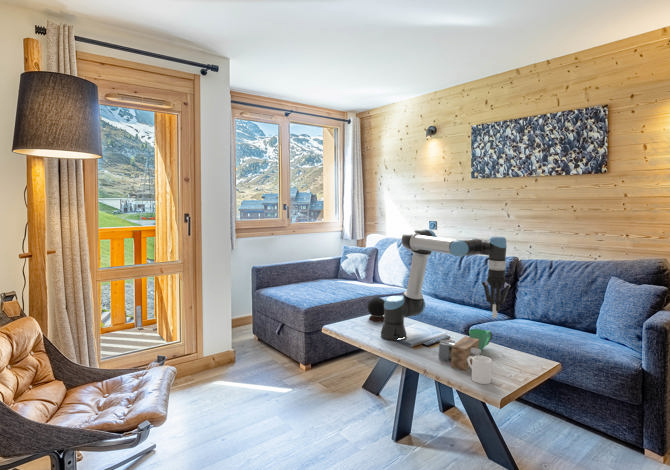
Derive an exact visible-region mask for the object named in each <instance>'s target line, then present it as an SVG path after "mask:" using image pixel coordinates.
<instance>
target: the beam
mask: <svg viewBox="0 0 670 470" xmlns="http://www.w3.org/2000/svg"><path fill="white" fill-rule="evenodd" d="M471 347H473V348H477V349H479V339H476V338H471V337H470V336H466V335H465V336H464V337H462V338H461V339H459V340H458V341H457V342H455V344H454V345H452V356H451V360H450V367H451V368H455V369H458V370H462V371H465V372H466V371H467V369H469V368H470V366H469V365H468V361H467V359H468V357H469V356H472V357H474V355H471ZM470 364H471V365H472V359H470Z"/></svg>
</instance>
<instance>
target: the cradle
mask: <svg viewBox="0 0 670 470" xmlns="http://www.w3.org/2000/svg"><path fill="white" fill-rule="evenodd" d="M443 341H448V342H452V343H456V341H455V340H450V339H444V340H443ZM451 356H452V350H450V345H448V344H444V343H440V342H439V344H438V360H441V361H444V362H451Z"/></svg>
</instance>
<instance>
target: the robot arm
mask: <svg viewBox="0 0 670 470" xmlns="http://www.w3.org/2000/svg"><path fill="white" fill-rule="evenodd" d="M401 244H402V247H403V248H404V249H406V250H408V251H410V252H412V259H411V264H410V270H409V276H408V281H407V287H406V290H405V291H404V292H403V295H402V296H401V295H391V296H388V297H386V298H385V299H384V301H385V303H384V315H383V316H384V321H383V325H382V328H381V330H380V337H381V338H382V339H384V340H388V341H393V342H395V341H397V339H398V338H403V337H406V338H407V331H406V327H405V322H404V321H405V318H409V317H416V316H419V315H421V314H423V312H425V308H426V301H425V298H424V296H423V293H422V290H423V285H424V284H423V283H424V280H425V279H424V278H425V273H426V267H427V263H428V258H429V256H431V255H432V252H435V253H442V254H449V255H452V256H454V257H459V258H460V257H461V258H462V257H467V256H477V255H482V256H488V269H487V270H488V272H487V273H488V274H487V279H486V280H484V281H482V282H481V284H482V286H483V288H484V289H483V290H484V294H485V298H486V302H488V303H489V304H490V311H492V313H491V314H492V315H491V318H493V319H496V318H498V312H500V309H501V307H500V306H501V305H503V304H504V303H505V301H506V297H507V295H508V292H509V290H510V287H512V286H511V284H508V282H507V280H506V261H507V260H506V259H507V257H506V256H507V247H508V246H507V238H506V237H504V236H490V237H489V239H479V238H471V239H467V240H464V239H463V240H462V239H453V238H448V237H447V238H446V237H437V235H436V233H435V232H434V231H433V230H432V229H425V228H424V229H409V230H407V231H405V232H404V233H403V234H402V236H401ZM489 286H490V288H489ZM503 286H504V287H503ZM502 288H504V289H503V293H502V295H501V292H502V291H501V290H502Z"/></svg>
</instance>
